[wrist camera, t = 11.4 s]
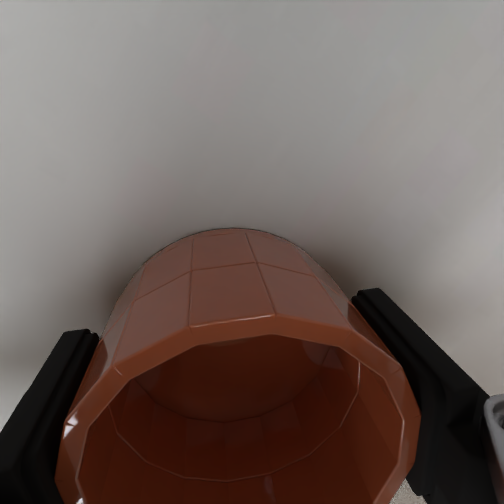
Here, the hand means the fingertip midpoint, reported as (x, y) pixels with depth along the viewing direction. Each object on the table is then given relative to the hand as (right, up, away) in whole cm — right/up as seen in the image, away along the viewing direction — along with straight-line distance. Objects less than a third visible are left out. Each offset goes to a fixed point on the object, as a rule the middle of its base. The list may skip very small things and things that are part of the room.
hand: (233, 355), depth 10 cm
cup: (0, 0, +1) cm, 1 cm away
